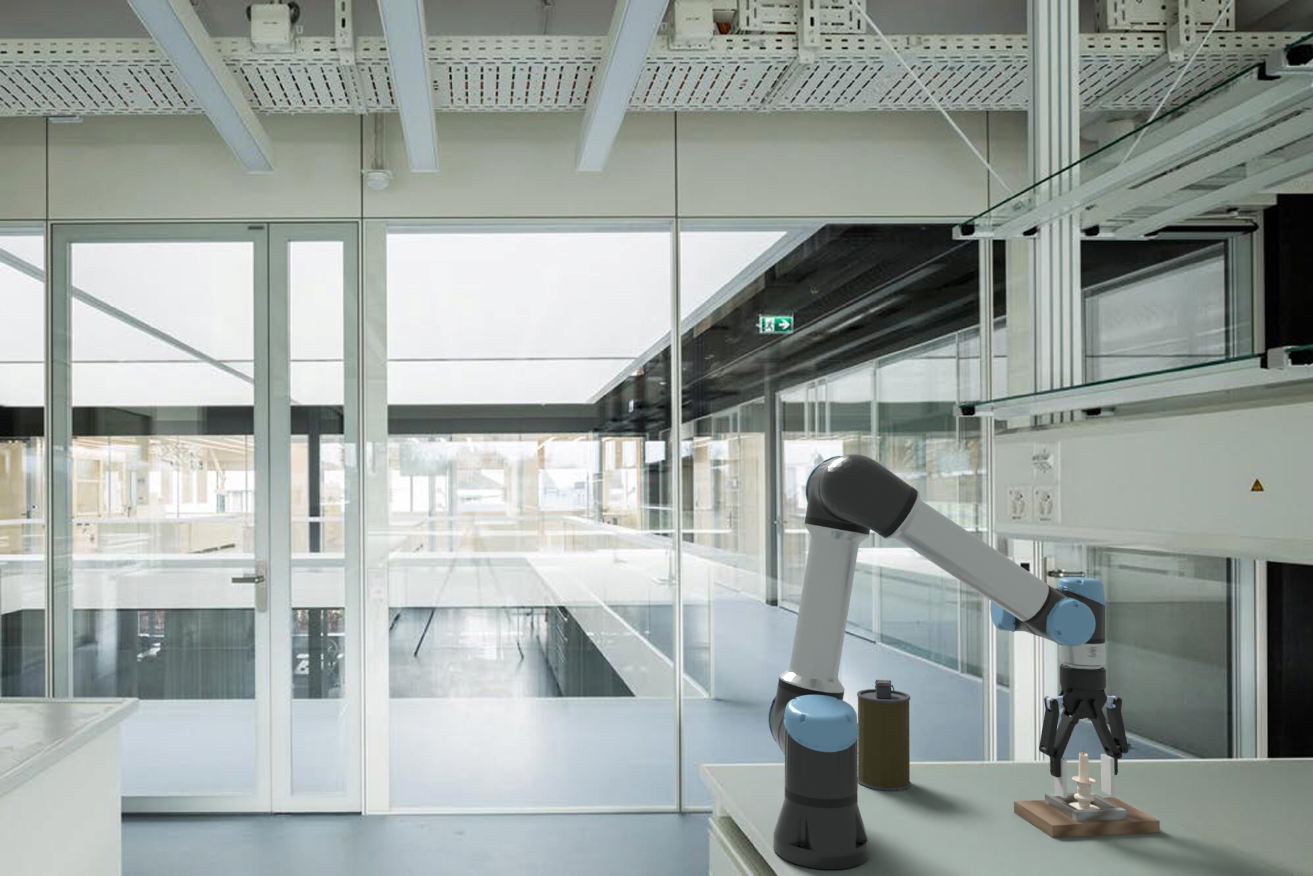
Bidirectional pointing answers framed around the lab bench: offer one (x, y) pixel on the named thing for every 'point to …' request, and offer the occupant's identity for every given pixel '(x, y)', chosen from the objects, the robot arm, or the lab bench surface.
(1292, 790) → the lab bench surface
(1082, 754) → the candle
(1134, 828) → the board
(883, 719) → the canister
